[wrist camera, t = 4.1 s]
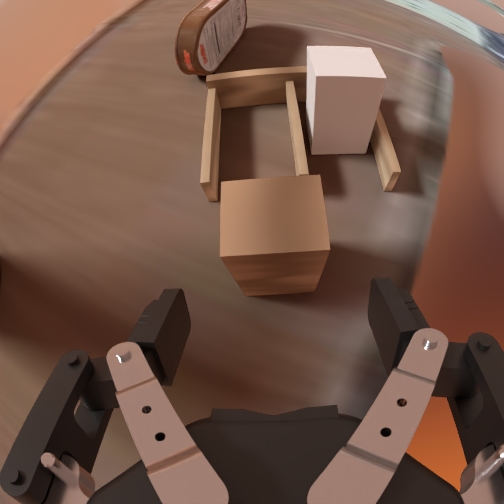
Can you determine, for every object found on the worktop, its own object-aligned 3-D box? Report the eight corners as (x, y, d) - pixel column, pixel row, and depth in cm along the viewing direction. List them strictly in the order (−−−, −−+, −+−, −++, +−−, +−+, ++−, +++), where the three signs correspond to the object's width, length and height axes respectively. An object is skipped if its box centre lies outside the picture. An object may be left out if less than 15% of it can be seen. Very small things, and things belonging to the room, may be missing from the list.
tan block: (245, 295, 23) (219, 256, 14) (244, 244, 24) (221, 181, 15) (314, 291, 22) (330, 249, 14) (310, 240, 23) (319, 174, 15)
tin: (234, 27, 35) (224, -21, 27) (254, 28, 35) (247, -21, 27) (183, 89, 31) (162, 31, 23) (208, 91, 31) (189, 30, 23)
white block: (311, 154, 26) (316, 76, 18) (305, 122, 27) (307, 46, 19) (365, 153, 25) (386, 78, 17) (356, 121, 27) (370, 47, 18)
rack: (209, 201, 26) (196, 175, 22) (215, 103, 30) (206, 75, 26) (391, 191, 24) (405, 164, 20) (361, 95, 28) (366, 67, 24)
